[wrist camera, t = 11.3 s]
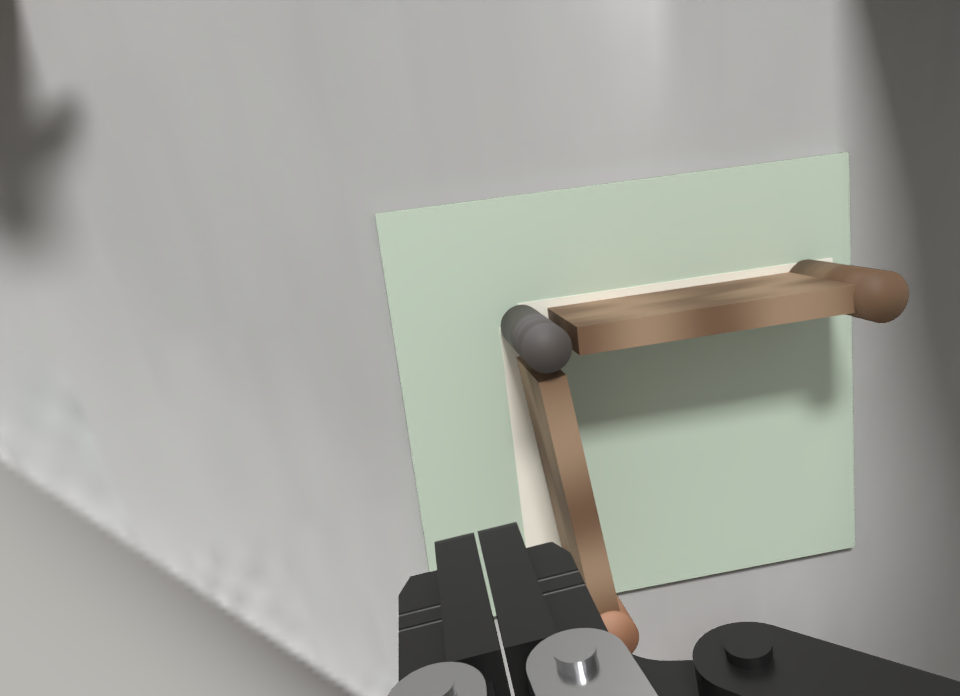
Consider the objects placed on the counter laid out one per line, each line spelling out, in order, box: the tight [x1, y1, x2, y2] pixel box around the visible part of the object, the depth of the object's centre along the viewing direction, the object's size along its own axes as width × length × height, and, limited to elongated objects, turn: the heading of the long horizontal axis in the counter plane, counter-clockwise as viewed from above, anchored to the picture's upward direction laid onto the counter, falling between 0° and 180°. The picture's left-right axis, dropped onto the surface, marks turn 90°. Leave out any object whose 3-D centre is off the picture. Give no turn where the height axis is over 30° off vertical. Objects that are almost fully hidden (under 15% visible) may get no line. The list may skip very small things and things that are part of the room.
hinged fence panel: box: [501, 305, 639, 654], centre depth 34 cm, size 16×2×6 cm, turn 14°
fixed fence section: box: [547, 259, 909, 356], centre depth 34 cm, size 14×2×6 cm, turn 97°
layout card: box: [375, 152, 855, 617], centre depth 37 cm, size 23×21×1 cm
